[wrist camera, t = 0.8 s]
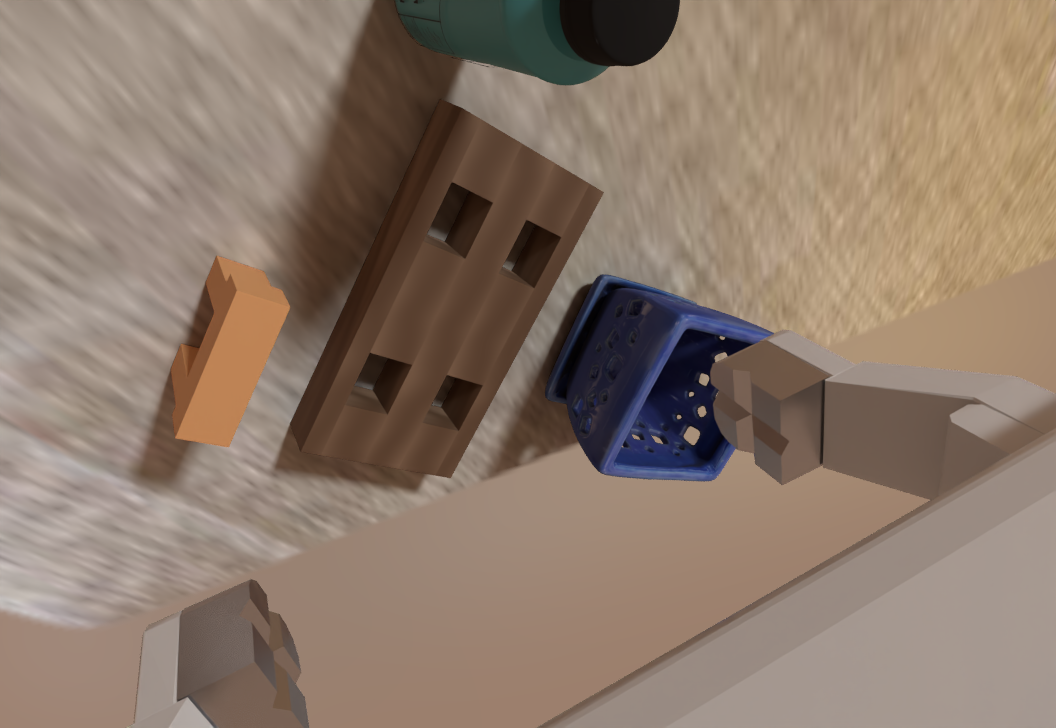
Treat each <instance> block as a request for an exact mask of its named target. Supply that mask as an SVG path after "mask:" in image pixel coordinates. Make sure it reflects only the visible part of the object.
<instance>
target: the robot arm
mask: <svg viewBox="0 0 1056 728" xmlns="http://www.w3.org/2000/svg"><path fill="white" fill-rule="evenodd" d="M710 376H711V384H712V385H713V386H714V387H716V388H717V389H718V390H719V392H718V394H717V396H716V398H715V401H714V403H713V409H714V416H715V420H716V423H717V425H718V427H719V429H720V431H721V433H722V434H723V436H724V437H725V438H726V439H727V441H728V442H729V443H730V444H732V445H733V446H734V447H735V448H736V449H738V450H741V451H745V452H750V453H754V457H755V464H756V465H757V466H759V467H760V468H761V469H762V470H764V471H765V472H766V473H767V474H769V475H770V476H771V477H772V478H774V479H775V480H776V481H777V482H779V483H780V484H781V485H784V484H786V483H788V482H790V481H792V480H794V479H796V478H798V477H800V476H802V475H804V474H806V473H808V472H810V471H812V470H814V469H816V468H818V467H820V466H822V465H823V468H827V469H830V470H833V471H836V472H840V473H843V474H846V475H850V476H853V477H856V478H860V479H863V480H866V481H870V482H873V483H876V484H880V485H883V486H887V487H890V488H893V489H897V490H900V491H903V492H906V493H910V494H913V495H916V496H920V497H923V498H926V499H930V501H928V502H927V503H925V504H923V505H922V506H920V507H918V508H916V509H915V510H913V511H911V512H910V513H908V514H906V515H904V516H902V517H901V518H899V519H897V520H896V521H894V522H892V523H890V524H888V525H887V526H885V527H883V528H882V529H880V530H878V531H876V532H875V533H873V534H871V535H870V536H868V537H866V538H864V539H863V540H861V541H859V542H857V543H856V544H854V545H852V546H851V547H849V548H847V549H845V550H843V551H842V552H840V553H839V554H837V555H835V556H833V557H831V558H830V559H828V560H826V561H824V562H823V563H821V564H819V565H817V566H816V567H814V568H812V569H811V570H809V571H807V572H805V573H804V574H802V575H800V576H799V577H797V578H795V579H793V580H792V581H790V582H788V583H786V584H785V585H783V586H781V587H779V588H778V589H776V590H774V591H773V592H771V593H769V594H767V595H766V596H764V597H762V598H760V599H759V600H757V601H755V602H753V603H752V604H750V605H748V606H747V607H745V608H743V609H742V610H740V611H738V612H736V613H734V614H733V615H731V616H729V617H728V618H726V619H724V620H722V621H721V622H719V623H717V624H715V625H714V626H712V627H710V628H708V629H707V630H705V631H703V632H702V633H700V634H698V635H696V636H695V637H693V638H691V639H690V640H688V641H686V642H684V643H682V644H681V645H679V646H677V647H676V648H674V649H672V650H671V651H669V652H667V653H665V654H663V655H662V656H660V657H658V658H656V659H655V660H653V661H651V662H650V663H648V664H646V665H644V666H643V667H641V668H639V669H637V670H636V671H634V672H632V673H631V674H629V675H627V676H625V677H624V678H622V679H620V680H618V681H617V682H615V683H613V684H611V685H610V686H608V687H606V688H604V689H603V690H601V691H599V692H598V693H596V694H594V695H592V696H591V697H589V698H587V699H585V700H584V701H582V702H580V703H579V704H577V705H575V706H573V707H572V708H570V709H568V710H566V711H565V712H563V713H561V714H560V715H558V716H556V717H554V718H552V719H551V720H549V721H547V722H545V723H544V724H542V725H540V726H539V727H537V728H1056V394H1055V393H1053V392H1050V391H1048V390H1046V389H1044V388H1042V387H1039V386H1037V385H1035V384H1032V383H1030V382H1028V381H1026V380H1023V379H1021V378H1019V377H1016V376H1005V375H996V374H986V373H976V372H966V371H956V370H945V369H936V368H925V367H916V366H906V365H895V364H885V363H875V362H866V361H862V362H860V363H858V364H854V363H852V362H850V361H848V360H846V359H845V358H842V357H841V356H839V355H837V354H835V353H833V352H831V351H829V350H827V349H825V348H824V347H822V346H820V345H818V344H816V343H814V342H812V341H810V340H808V339H806V338H804V337H803V336H801V335H799V334H797V333H795V332H793V331H791V330H781V331H779V332H777V333H775V334H773V335H771V336H769V337H766V338H764V339H762V340H760V341H759V342H758V343H756V344H754V345H751V346H749V347H747V348H745V349H743V350H741V351H739V352H737V353H735V354H732V355H730V356H728V357H726V358H724V359H722V360H720V361H718V362H716V363H714V364H713V365H712V368H711V371H710ZM300 673H301V669H300V664H299V657H298V654H297V651H296V647H295V644H294V641H293V638H292V636H291V634H290V632H289V630H288V628H287V626H286V624H285V622H284V621H283V620H282V618H281V616H280V614H277V613H274V612H270V611H268V603H267V595H266V594H265V592H264V591H263V589H262V588H261V587H260V585H259V584H258V583H257V581H255V580H252V579H251V580H248V581H246V582H244V583H241V584H239V585H237V586H234V587H232V588H230V589H228V590H225V591H223V592H221V593H219V594H216V595H214V596H212V597H210V598H207V599H205V600H203V601H201V602H198V603H196V604H194V605H192V606H189V607H187V608H185V609H184V610H182V611H179V612H177V613H175V614H172V615H170V616H168V617H166V618H164V619H161V620H159V621H157V622H155V623H152V624H150V625H149V626H148V627H147V628H146V630H145V632H144V633H143V637H142V647H141V656H140V666H139V676H138V687H137V695H136V705H135V715H134V724H132V725H130V726H128V727H126V728H309V723H308V716H307V709H306V702H305V697H304V696H303V694H302V693H301V691H300V690H299V688H298V687H297V685H296V682H297V680H298V678H299V676H300Z"/></svg>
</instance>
